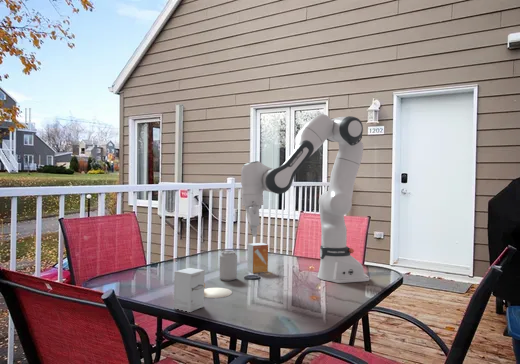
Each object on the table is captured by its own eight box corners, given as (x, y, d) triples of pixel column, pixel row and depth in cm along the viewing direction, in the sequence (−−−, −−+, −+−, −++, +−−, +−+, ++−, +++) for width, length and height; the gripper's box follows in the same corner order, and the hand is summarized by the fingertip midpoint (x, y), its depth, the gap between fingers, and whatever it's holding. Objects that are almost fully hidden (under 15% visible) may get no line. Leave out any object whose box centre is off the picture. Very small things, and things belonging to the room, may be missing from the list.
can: (234, 281, 164) (234, 253, 164) (217, 280, 165) (217, 252, 165) (238, 277, 171) (238, 250, 171) (222, 276, 172) (222, 249, 172)
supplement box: (189, 313, 124) (190, 274, 124) (173, 308, 128) (173, 271, 128) (204, 307, 130) (205, 269, 130) (188, 303, 134) (188, 266, 134)
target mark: (231, 287, 154) (231, 287, 154) (232, 297, 141) (232, 297, 141) (199, 288, 153) (199, 287, 153) (196, 298, 140) (196, 297, 140)
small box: (252, 273, 178) (253, 245, 178) (247, 270, 184) (247, 243, 184) (268, 271, 182) (268, 244, 182) (262, 269, 188) (262, 242, 188)
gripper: (262, 202, 148) (263, 238, 148) (258, 199, 168) (259, 231, 168) (246, 202, 147) (247, 238, 147) (243, 200, 167) (244, 231, 167)
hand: (253, 234), depth 158 cm, fingers open, 8 cm apart
